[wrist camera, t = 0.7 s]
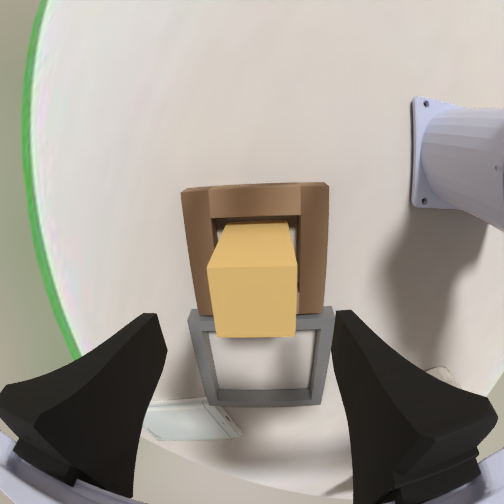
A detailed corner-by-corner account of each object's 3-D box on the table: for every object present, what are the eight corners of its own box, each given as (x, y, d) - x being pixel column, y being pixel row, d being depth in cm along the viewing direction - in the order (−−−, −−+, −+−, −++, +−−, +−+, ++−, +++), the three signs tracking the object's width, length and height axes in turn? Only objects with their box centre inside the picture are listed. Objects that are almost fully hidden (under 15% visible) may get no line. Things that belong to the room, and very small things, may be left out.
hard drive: (158, 441, 30) (241, 439, 28) (122, 408, 27) (211, 403, 25) (161, 432, 32) (242, 428, 29) (127, 398, 29) (214, 391, 27)
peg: (286, 219, 19) (297, 265, 12) (287, 273, 20) (295, 336, 14) (227, 221, 19) (206, 267, 12) (231, 275, 20) (217, 337, 14)
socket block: (324, 182, 17) (329, 186, 16) (319, 301, 21) (322, 312, 19) (187, 188, 18) (180, 192, 17) (202, 304, 21) (199, 315, 20)
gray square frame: (331, 306, 21) (335, 317, 20) (318, 393, 25) (320, 404, 24) (191, 309, 22) (187, 320, 20) (211, 394, 26) (209, 405, 25)
